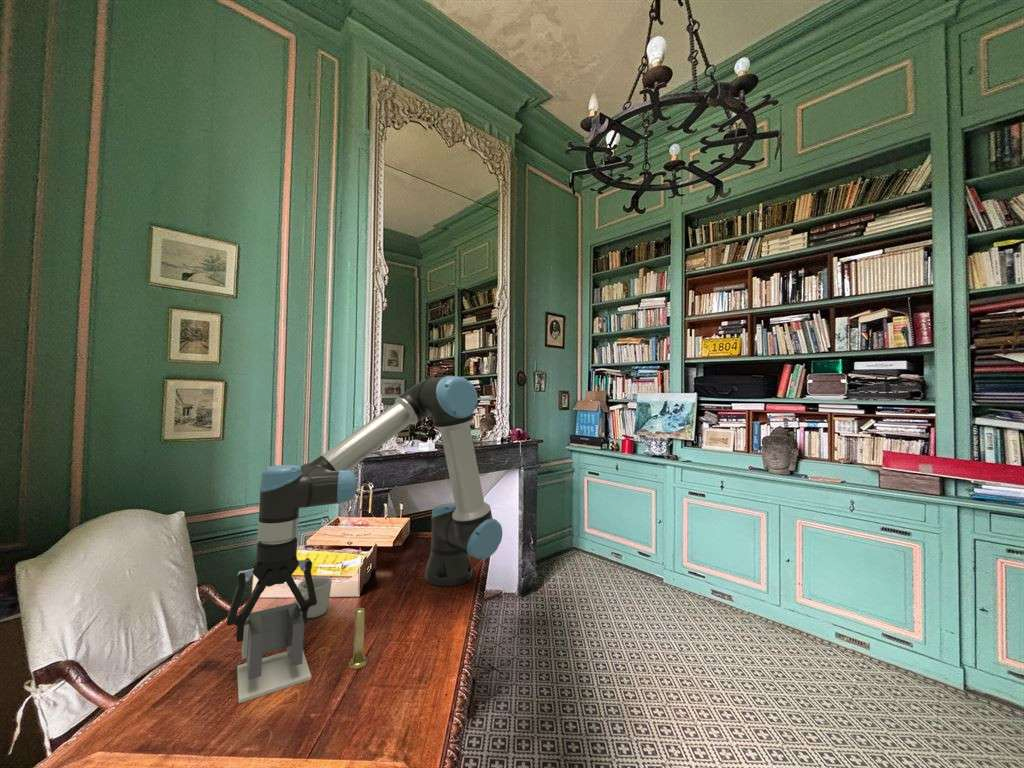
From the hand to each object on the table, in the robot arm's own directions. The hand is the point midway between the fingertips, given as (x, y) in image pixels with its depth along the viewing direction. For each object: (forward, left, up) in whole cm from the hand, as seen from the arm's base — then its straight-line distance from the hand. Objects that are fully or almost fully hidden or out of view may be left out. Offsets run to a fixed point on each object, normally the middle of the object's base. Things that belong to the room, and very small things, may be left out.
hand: (271, 648), depth 86 cm
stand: (-15, +10, -3) cm, 18 cm away
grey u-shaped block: (0, +4, 0) cm, 4 cm away
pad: (0, +4, -3) cm, 5 cm away
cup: (-10, -17, -3) cm, 20 cm away
